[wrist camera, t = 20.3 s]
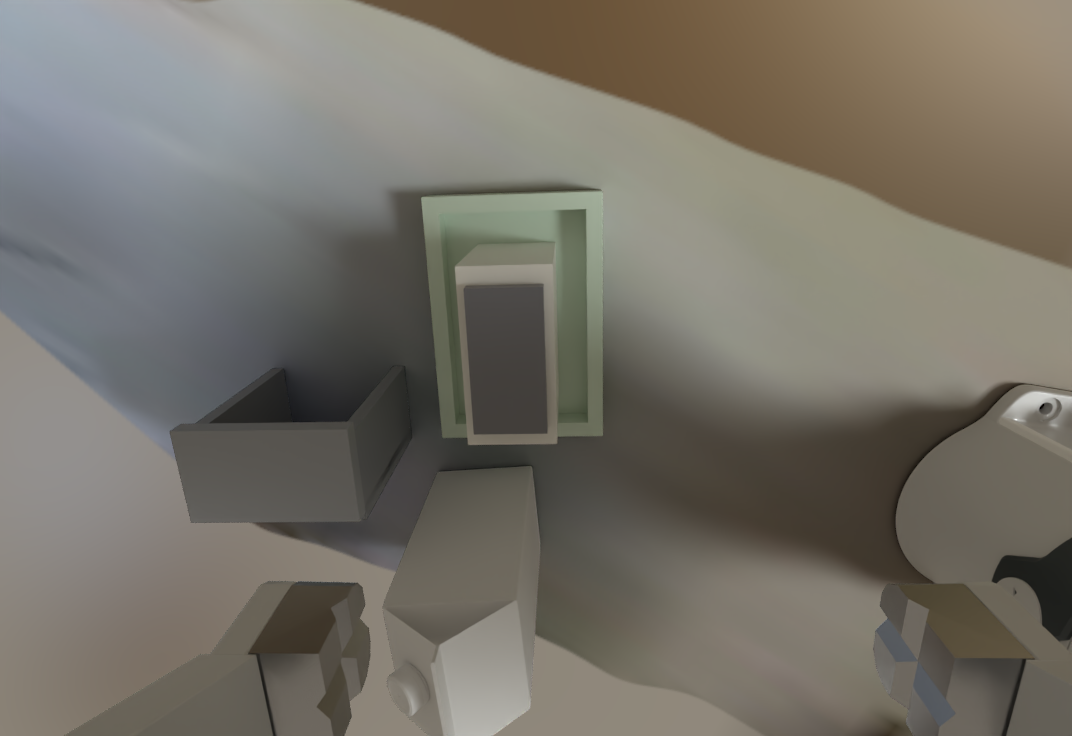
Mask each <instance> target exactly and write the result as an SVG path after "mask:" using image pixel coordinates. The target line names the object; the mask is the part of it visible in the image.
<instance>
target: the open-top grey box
mask: <svg viewBox="0 0 1072 736" xmlns="http://www.w3.org/2000/svg"><path fill="white" fill-rule="evenodd" d="M170 436H171V440H172V444H173V448H174V453H175V457H176V461H177V465H178V469H179V474H180V478H181V482H182V486H183V491H184V495H185V499H186V503H187V507H188V511H189V516H190V520H191V522H192V523H212V522H213V523H215V522H216V523H219V522H222V523H223V522H224V523H226V522H360V521H361V520H367V518H368V516H369V515H370V513H371V511H372V509H373V507H374V505H375V504H376V502H377V500H378V498H379V496H380V495H381V493H382V491H383V489H384V487H385V486H386V484H387V482H388V480H389V478H390V477H391V475H392V473H393V471H394V469H395V467H396V466H397V464H398V462H399V460H400V458H401V457H402V455H403V453H404V451H405V449H406V448H407V446H408V444H409V442H410V440H411V438H412V434H411V424H410V414H409V405H408V395H407V386H406V376H405V367H404V366H393V367H392V368H391V370H390V371H389V372H388V373H387V374H386V376H385V377H384V378H383V379H382V380H381V382H380V383H379V384H378V385H377V386H376V388H375V389H374V390H373V391H372V392H371V394H370V395H369V396H368V397H367V398H366V400H365V401H364V402H363V403H362V404H361V406H360V407H359V408H358V409H357V410H356V412H355V413H354V414H353V415H352V416H351V418H350V419H349V420H348V421H347V422H292V417H291V411H290V405H289V399H288V393H287V387H286V381H285V375H284V369H283V368H274V369H271V370H270V371H268V372H267V373H265V374H264V375H263V376H261V377H260V378H258V379H257V380H256V381H254V382H253V383H251V384H250V385H249V386H247V387H246V388H244V389H243V390H241V391H240V392H239V393H237V394H236V395H234V396H233V397H232V398H230V399H229V400H227V401H226V402H225V403H223V404H222V405H220V406H219V407H218V408H216V409H215V410H213V411H212V412H211V413H209V414H208V415H206V416H205V417H204V418H202V419H201V420H199V421H198V422H197V423H195V424H180V425H178V426H177V427H175V428H174V429H173V430H171V431H170Z"/></svg>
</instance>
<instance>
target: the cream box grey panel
mask: <svg viewBox="0 0 1072 736" xmlns="http://www.w3.org/2000/svg"><path fill="white" fill-rule="evenodd" d="M455 276H456V290H457V303H458V317H459V330H460V344H461V357H462V371H463V384H464V398H465V411H466V424H467V438H468V445H517V444H557V438H558V402H559V372H558V329H557V287H556V244H555V242H533V243H498V244H478V245H477V246H476V247H475V248H473V249H472V250H471V251H470V252H469V253H468V254H467V255H466V256H465V257H464V258H463V259H462V260H461V261H460V262H459V263H458V264H457V265H456V266H455Z"/></svg>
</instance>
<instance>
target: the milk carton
mask: <svg viewBox="0 0 1072 736" xmlns="http://www.w3.org/2000/svg"><path fill="white" fill-rule="evenodd" d="M540 548H541V545H540V534H539V525H538V515H537V506H536V497H535V488H534V478H533V470H532V467H531V466H520V467H505V468H489V469H474V470H459V471H443V472H437V474H436V476H435V479H434V481H433V484H432V486H431V489H430V491H429V493H428V496H427V498H426V501H425V503H424V506H423V508H422V510H421V513H420V515H419V518H418V520H417V523H416V525H415V527H414V530H413V532H412V535H411V537H410V540H409V542H408V544H407V547H406V549H405V552H404V554H403V557H402V559H401V561H400V564H399V566H398V569H397V571H396V574H395V576H394V578H393V581H392V583H391V586H390V588H389V591H388V593H387V596H386V599H385V601H384V604H383V614H384V620H385V625H386V630H387V635H388V640H389V645H390V649H391V654H392V659H393V663H394V669H395V671H394V672H393V673H392V674H390V675H389V676H388V678H387V687H388V690H389V693H390V696H391V698H392V700H393V702H394V703H395V704H396V706H397V707H398V708H399V709H400V710H401V711H402V712H403V713H404V714H405V715H406V716H408V718H409V719H410V720H412V721H413V722H414V723H415V724H416V725H417V726H418V727H419V728H421V729H422V730H423V731H424V732H425V733H426V734H427V735H429V736H493V735H494V734H495V733H497V732H498V731H500V730H501V729H503V728H504V727H505V726H507V725H508V724H509V723H511V722H512V721H514V720H515V719H516V718H518V717H519V716H520V715H522V714H523V713H525V712H526V711H527V710H529V709H530V703H531V687H532V671H533V656H534V640H535V625H536V610H537V595H538V579H539V564H540Z"/></svg>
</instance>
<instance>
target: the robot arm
mask: <svg viewBox="0 0 1072 736" xmlns="http://www.w3.org/2000/svg"><path fill="white" fill-rule="evenodd" d="M1044 403H1045V405H1044V407H1043V408H1042V409H1040V410H1039V408H1040V406H1041V405H1042V404H1044ZM896 532H897V537H898V541H899V544H900V547H901V549H902V551H903V553H904V555H905V556H906V558H907V559H908V561H909V562H910V563H911V564H912V566H913V567H914V568H915V569H916V570H917V571H919V572H920V573H921V574H922V575H924V576H925V577H927V578H928V579H930V580H931V581H933V582H934V583H936V584H887V585H886V587H885V588H884V590H883V592H882V596H881V602H880V607H881V609H882V610H883V612H884V613H885V614H886V616H887V617H888V619H887V620H886V621H885V622H884V623H882V624H881V625H880V626H879V627H878V628H877V629H876V631H875V639H874V647H873V650H874V657H875V663H876V669H877V671H878V674H879V677H880V679H881V682H882V684H883V686H884V687H885V689H886V691H887V692H888V694H889V696H890V697H891V698H892V699H894V700H895V701H897V702H898V703H900V704H901V705H903V706H904V707H905V708H907V709H908V715H907V720H906V724H907V725H908V727H909V729H910V730H911V732H912V734H913V735H914V736H1072V392H1070V391H1064V390H1058V389H1052V388H1046V387H1041V386H1035V385H1019V386H1017V387H1014V388H1013V389H1011V390H1010V391H1008V392H1007V393H1006V394H1005V395H1004V396H1003V397H1002V398H1001V399H1000V400H998V402H997V403H996V404H995V405H994V406H993V407H992V408H991V409H990V410H989V411H988V412H987V414H986V415H985V416H984V417H982V418H981V419H980V420H978V421H977V422H975V423H973V424H972V425H970V426H968V427H966V428H964V429H963V430H961V431H959V432H957V433H955V434H954V435H952V436H950V437H949V438H947V439H946V440H944V441H943V442H941V443H940V444H939V445H938V446H936V447H935V448H934V449H933V450H932V451H931V452H929V453H928V454H927V455H926V456H925V457H924V458H923V459H922V461H921V462H920V463H919V464H918V465H917V467H916V468H915V469H914V471H913V472H912V473H911V475H910V477H909V478H908V480H907V482H906V484H905V486H904V488H903V490H902V492H901V495H900V498H899V501H898V506H897V511H896ZM364 607H365V600H364V594H363V588H362V586H360V585H359V584H358V583H343V582H302V581H300V582H288V581H287V582H286V581H284V582H283V581H280V582H279V581H268V582H266V583H264V584H261V585H260V586H259V587H258V589H257V590H256V592H255V593H254V594H253V596H252V597H251V599H250V600H249V601H248V603H247V604H246V605H245V607H244V608H243V610H242V611H241V612H240V614H239V615H238V616H237V618H236V619H235V621H234V622H233V623H232V625H231V626H230V628H229V629H228V630H227V632H226V633H225V634H224V636H223V637H222V639H221V640H220V641H219V643H218V644H217V645H216V647H215V648H214V650H213V651H212V652H211V654H202V655H201V654H200V655H198V656H197V657H195V658H193V659H192V660H190V661H188V662H187V663H185V664H183V665H182V666H180V667H178V668H177V669H175V670H173V671H172V672H170V673H168V674H166V675H165V676H163V677H162V678H160V679H158V680H156V681H155V682H153V683H151V684H150V685H148V686H146V687H145V688H143V689H141V690H140V691H138V692H136V693H135V694H133V695H131V696H130V697H128V698H126V699H124V700H123V701H121V702H119V703H118V704H116V705H114V706H113V707H111V708H109V709H108V710H106V711H104V712H103V713H101V714H99V715H98V716H96V717H94V718H93V719H91V720H89V721H88V722H86V723H84V724H83V725H81V726H79V727H78V728H76V729H74V730H72V731H71V732H69V733H67V734H66V735H64V736H344V735H345V733H346V730H347V727H348V725H349V722H350V719H351V717H352V715H351V708H350V701H351V700H352V699H353V698H354V697H355V696H357V695H358V694H359V693H360V692H361V691H362V688H363V685H364V683H365V680H366V677H367V672H368V667H369V661H370V634H369V628H368V627H367V626H366V625H365V624H364V623H363V621H362V620H361V619H360V616H361V614H362V611H363V609H364Z"/></svg>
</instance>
